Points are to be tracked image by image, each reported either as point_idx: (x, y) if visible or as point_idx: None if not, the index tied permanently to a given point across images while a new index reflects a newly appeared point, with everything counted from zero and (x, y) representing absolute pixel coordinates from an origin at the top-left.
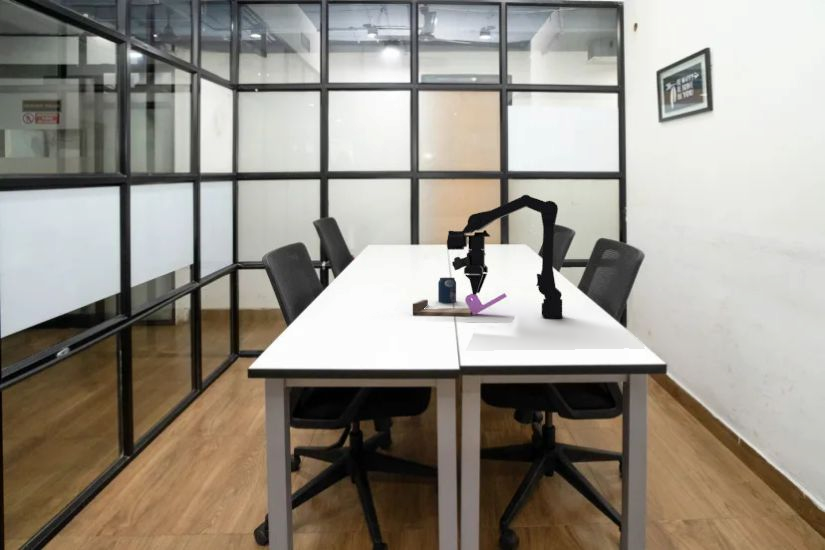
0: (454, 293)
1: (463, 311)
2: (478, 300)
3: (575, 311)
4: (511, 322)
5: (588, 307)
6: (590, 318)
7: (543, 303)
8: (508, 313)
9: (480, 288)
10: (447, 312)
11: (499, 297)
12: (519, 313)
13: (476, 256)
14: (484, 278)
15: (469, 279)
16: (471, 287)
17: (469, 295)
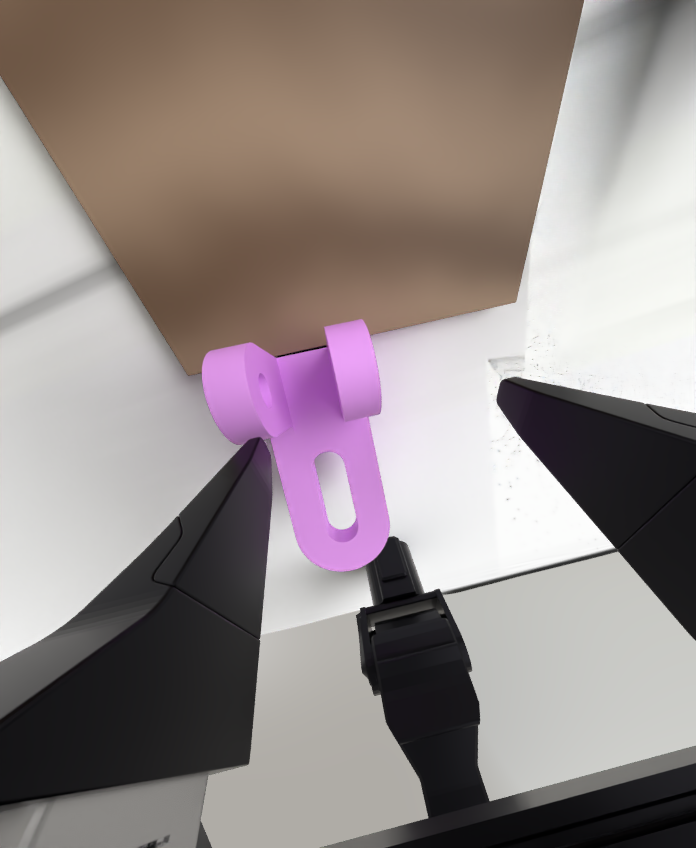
0: None
1: (242, 302)
2: (342, 413)
3: (492, 553)
4: (134, 549)
5: (587, 544)
6: (348, 599)
7: (380, 583)
8: (411, 462)
9: (522, 437)
10: (62, 173)
11: (301, 545)
12: (419, 487)
13: None
14: (628, 557)
15: (57, 631)
16: (201, 491)
17: (215, 412)
